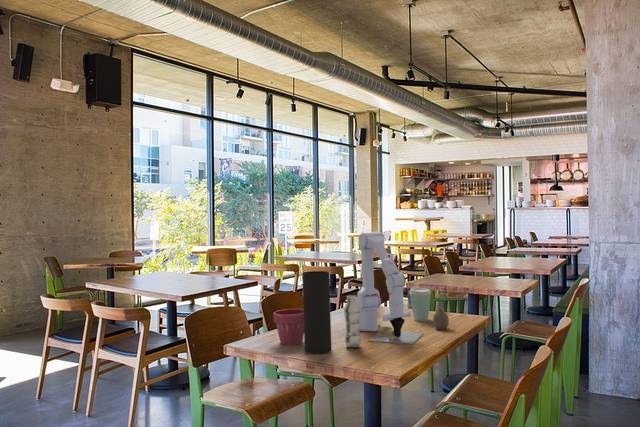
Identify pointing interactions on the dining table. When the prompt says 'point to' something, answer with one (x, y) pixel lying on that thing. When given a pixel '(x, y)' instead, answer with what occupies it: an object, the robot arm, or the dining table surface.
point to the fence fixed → (383, 329)
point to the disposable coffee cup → (420, 303)
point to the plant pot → (290, 325)
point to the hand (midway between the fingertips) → (397, 336)
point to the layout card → (398, 338)
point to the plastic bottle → (352, 322)
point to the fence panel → (391, 334)
